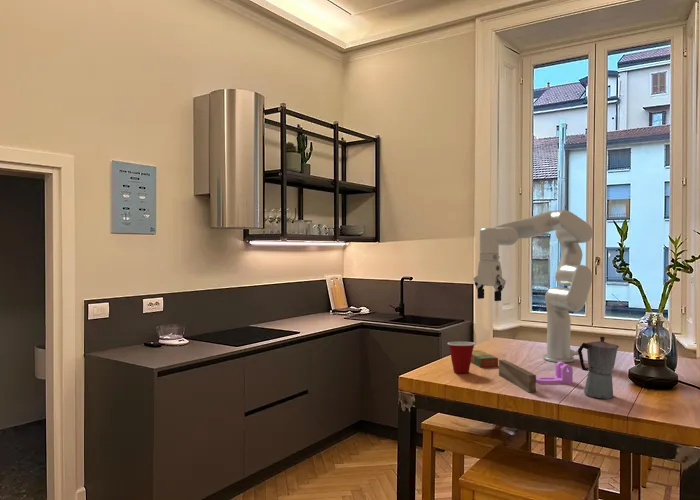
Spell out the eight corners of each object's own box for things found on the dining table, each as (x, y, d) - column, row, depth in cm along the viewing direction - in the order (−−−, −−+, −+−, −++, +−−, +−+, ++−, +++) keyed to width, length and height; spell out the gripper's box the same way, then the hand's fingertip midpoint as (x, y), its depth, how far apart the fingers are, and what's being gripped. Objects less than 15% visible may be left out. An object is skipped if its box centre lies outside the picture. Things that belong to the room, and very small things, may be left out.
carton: (480, 359, 238) (480, 349, 238) (498, 367, 222) (498, 357, 222) (463, 359, 236) (463, 350, 236) (480, 368, 220) (480, 358, 220)
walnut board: (505, 374, 209) (505, 359, 208) (535, 392, 185) (536, 375, 185) (498, 375, 208) (499, 359, 208) (529, 392, 184) (529, 375, 184)
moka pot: (627, 398, 179) (628, 338, 178) (589, 402, 174) (589, 340, 174) (606, 390, 188) (607, 333, 187) (569, 393, 183) (569, 335, 183)
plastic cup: (468, 368, 219) (468, 339, 219) (479, 374, 209) (479, 344, 208) (443, 369, 217) (443, 339, 217) (452, 376, 207) (452, 345, 207)
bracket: (565, 379, 202) (565, 361, 202) (572, 383, 197) (572, 364, 196) (531, 380, 201) (531, 362, 201) (538, 384, 195) (538, 365, 195)
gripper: (511, 258, 214) (511, 301, 214) (481, 257, 229) (481, 297, 229) (497, 258, 210) (497, 302, 211) (467, 257, 225) (467, 298, 226)
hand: (489, 299), depth 220 cm, fingers open, 9 cm apart
